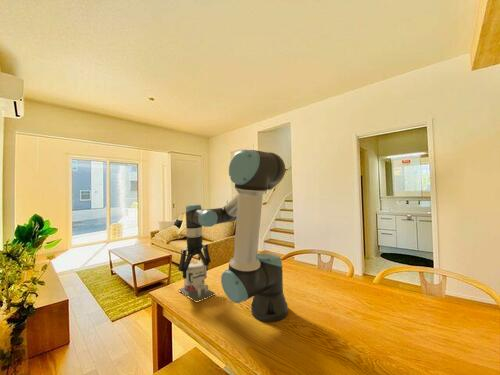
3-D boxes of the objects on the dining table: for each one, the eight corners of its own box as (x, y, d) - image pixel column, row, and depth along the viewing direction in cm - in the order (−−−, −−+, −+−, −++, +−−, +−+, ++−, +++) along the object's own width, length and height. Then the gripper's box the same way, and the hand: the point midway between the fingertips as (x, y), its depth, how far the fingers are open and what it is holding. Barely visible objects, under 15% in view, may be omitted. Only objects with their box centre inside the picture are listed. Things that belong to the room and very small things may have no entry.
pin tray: (214, 294, 104) (214, 284, 104) (196, 303, 97) (196, 292, 97) (196, 284, 116) (195, 275, 116) (178, 291, 109) (178, 281, 109)
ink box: (186, 291, 103) (186, 267, 103) (186, 287, 107) (186, 263, 108) (205, 289, 105) (204, 265, 105) (204, 284, 110) (203, 261, 110)
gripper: (208, 231, 117) (210, 272, 117) (169, 238, 101) (171, 286, 101) (217, 232, 112) (218, 276, 112) (177, 241, 96) (178, 291, 96)
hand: (195, 281), depth 106 cm, fingers closed on ink box, 9 cm apart
